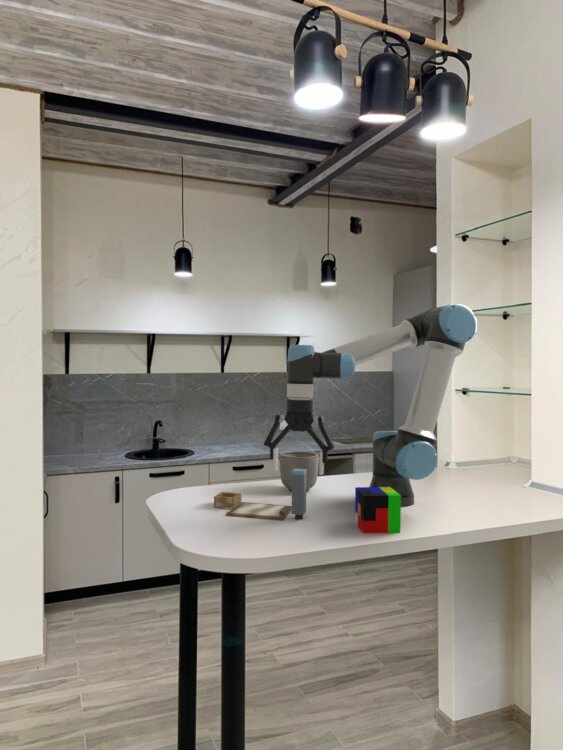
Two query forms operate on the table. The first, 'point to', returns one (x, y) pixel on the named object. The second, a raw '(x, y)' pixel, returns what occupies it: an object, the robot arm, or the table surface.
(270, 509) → the clipboard
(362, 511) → the puzzle toy
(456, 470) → the table surface
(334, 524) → the table surface
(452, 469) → the table surface
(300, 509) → the blue-grey tall block
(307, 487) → the planter
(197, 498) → the table surface
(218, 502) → the holder
